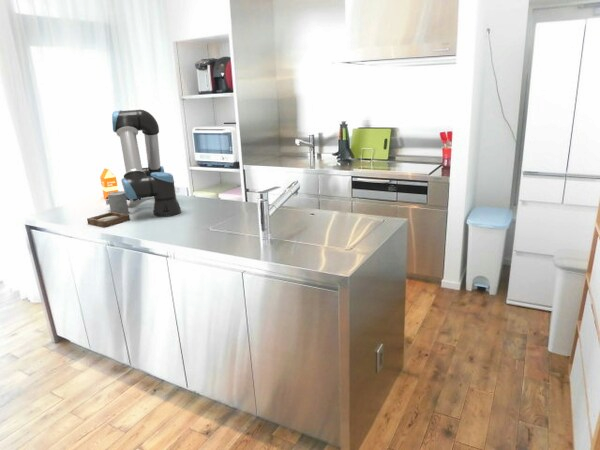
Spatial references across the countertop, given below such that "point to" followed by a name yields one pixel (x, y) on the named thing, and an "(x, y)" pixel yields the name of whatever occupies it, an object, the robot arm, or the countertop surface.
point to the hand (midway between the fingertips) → (118, 201)
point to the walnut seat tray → (108, 219)
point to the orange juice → (108, 183)
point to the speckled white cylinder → (118, 202)
